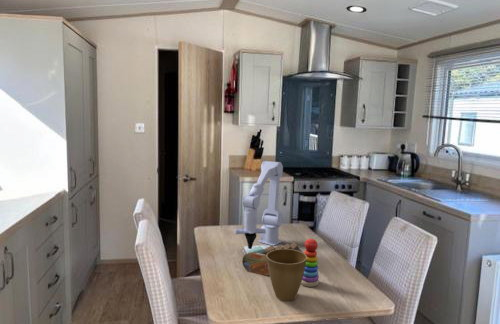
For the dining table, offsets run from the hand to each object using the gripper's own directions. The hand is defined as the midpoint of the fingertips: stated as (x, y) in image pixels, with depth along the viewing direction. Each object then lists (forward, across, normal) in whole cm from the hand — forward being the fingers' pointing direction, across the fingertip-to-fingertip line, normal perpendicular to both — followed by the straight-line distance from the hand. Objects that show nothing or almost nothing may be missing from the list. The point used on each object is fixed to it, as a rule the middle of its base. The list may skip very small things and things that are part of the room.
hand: (249, 248), depth 180 cm
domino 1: (+3, 0, 0) cm, 3 cm away
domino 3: (+3, +10, 0) cm, 10 cm away
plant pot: (+4, +6, -41) cm, 42 cm away
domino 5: (+3, +18, 0) cm, 18 cm away
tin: (+4, +1, -19) cm, 19 cm away
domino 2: (+3, +6, 0) cm, 7 cm away
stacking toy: (+4, +19, -32) cm, 37 cm away
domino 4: (+3, +14, 0) cm, 14 cm away
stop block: (+4, +24, 0) cm, 24 cm away
